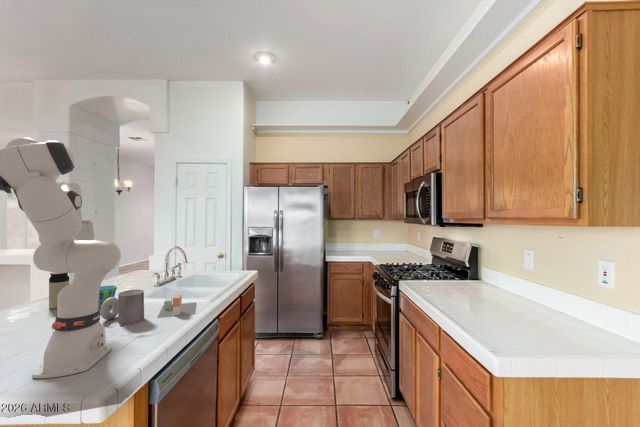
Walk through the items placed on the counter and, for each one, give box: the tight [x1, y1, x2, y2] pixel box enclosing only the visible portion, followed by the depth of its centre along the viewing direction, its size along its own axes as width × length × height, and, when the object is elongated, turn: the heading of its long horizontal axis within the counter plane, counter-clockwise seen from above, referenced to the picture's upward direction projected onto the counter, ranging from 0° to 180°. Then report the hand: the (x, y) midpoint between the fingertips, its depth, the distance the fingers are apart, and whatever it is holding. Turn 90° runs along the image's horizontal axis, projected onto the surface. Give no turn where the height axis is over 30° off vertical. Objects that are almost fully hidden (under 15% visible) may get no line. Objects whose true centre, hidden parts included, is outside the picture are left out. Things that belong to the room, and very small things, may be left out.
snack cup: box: [98, 285, 118, 310], centre depth 157 cm, size 16×10×10 cm
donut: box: [99, 296, 118, 321], centre depth 140 cm, size 10×3×10 cm, turn 175°
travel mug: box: [48, 272, 70, 310], centre depth 157 cm, size 8×8×18 cm
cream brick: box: [173, 305, 181, 317], centre depth 145 cm, size 6×3×4 cm, turn 20°
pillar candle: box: [117, 288, 145, 328], centre depth 135 cm, size 10×10×15 cm
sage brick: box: [163, 297, 173, 310], centre depth 153 cm, size 6×3×4 cm, turn 20°
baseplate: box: [156, 301, 197, 319], centre depth 150 cm, size 20×16×1 cm
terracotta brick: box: [172, 294, 183, 307], centre depth 145 cm, size 6×3×4 cm, turn 17°
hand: (68, 252), depth 133 cm, fingers open, 8 cm apart
